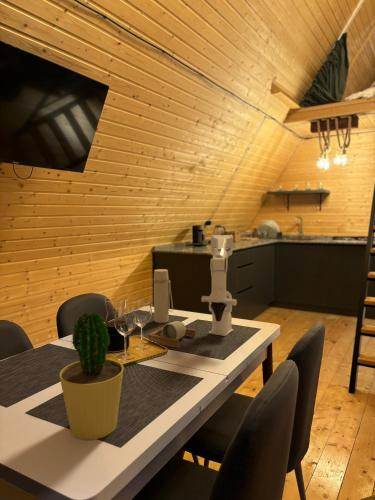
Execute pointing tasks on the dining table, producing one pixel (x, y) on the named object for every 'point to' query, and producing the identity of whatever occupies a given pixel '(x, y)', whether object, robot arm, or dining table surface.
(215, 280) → the robot arm
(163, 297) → the water bottle
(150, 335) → the walnut bracket
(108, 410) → the potted cactus
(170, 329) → the ceramic mug
